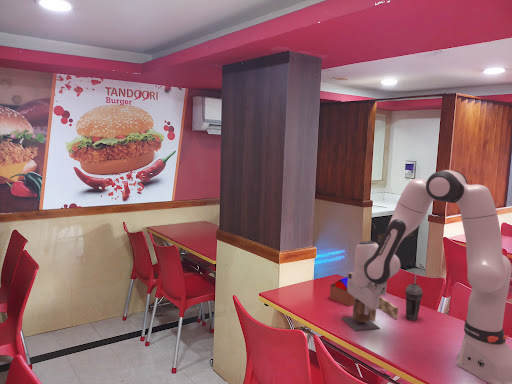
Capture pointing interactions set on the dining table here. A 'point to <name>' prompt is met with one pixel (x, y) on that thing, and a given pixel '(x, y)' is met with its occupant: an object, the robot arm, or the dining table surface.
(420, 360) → the dining table surface
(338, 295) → the house
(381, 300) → the wooden open frame
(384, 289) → the coffee box
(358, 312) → the block
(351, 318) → the mat
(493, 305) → the robot arm
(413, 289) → the beverage cup
